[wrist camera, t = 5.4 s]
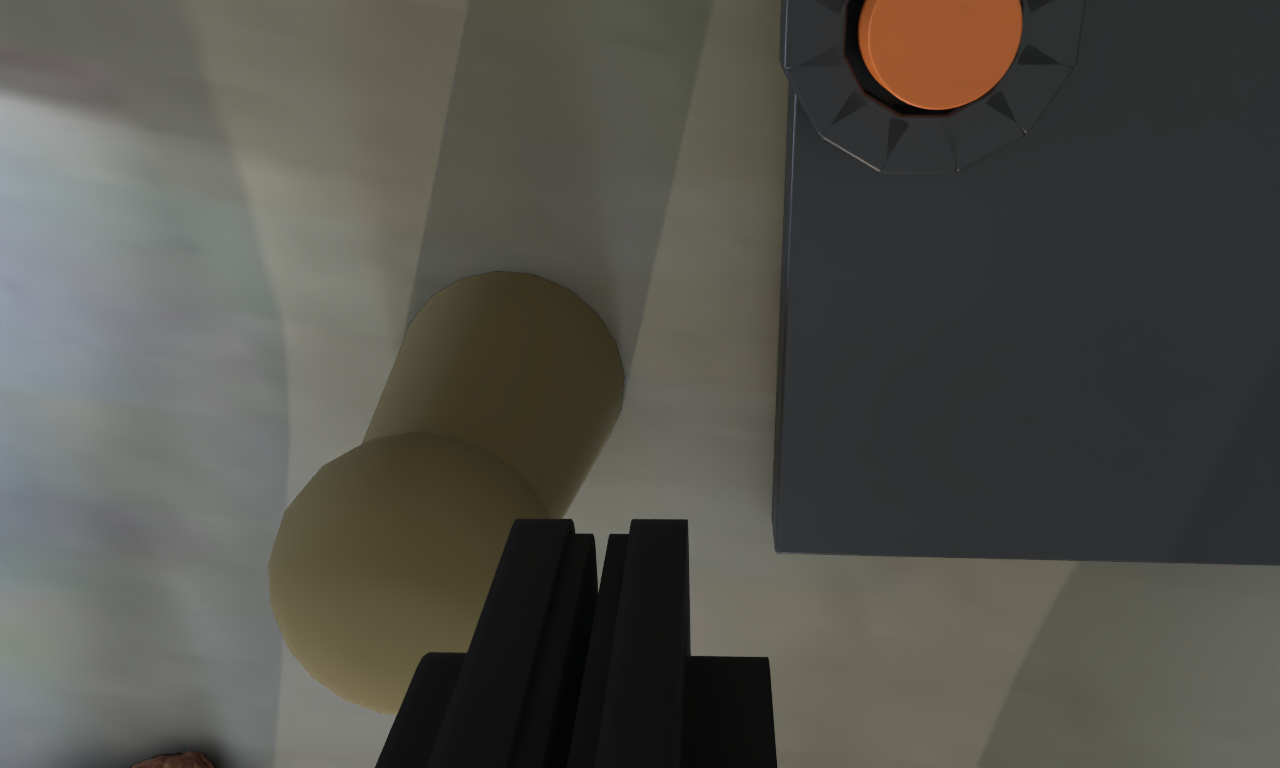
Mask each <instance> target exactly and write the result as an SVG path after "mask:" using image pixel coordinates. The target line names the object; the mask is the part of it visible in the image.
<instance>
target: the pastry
mask: <svg viewBox="0 0 1280 768" xmlns="http://www.w3.org/2000/svg"><path fill="white" fill-rule="evenodd" d="M131 768H215V767H214V765H213V764H212V762H211V761H210V759H209V758H208V756H207V755H206V754H204V753H200V752H197V751H193V750H190V751H188V752H186V753H180V752H178V753H174V754H160V755H157V756H155V757H152V758H151V759H148V760H145V761H142V762H140V763H138V764H136V765H134V766H133V767H131Z"/></svg>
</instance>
